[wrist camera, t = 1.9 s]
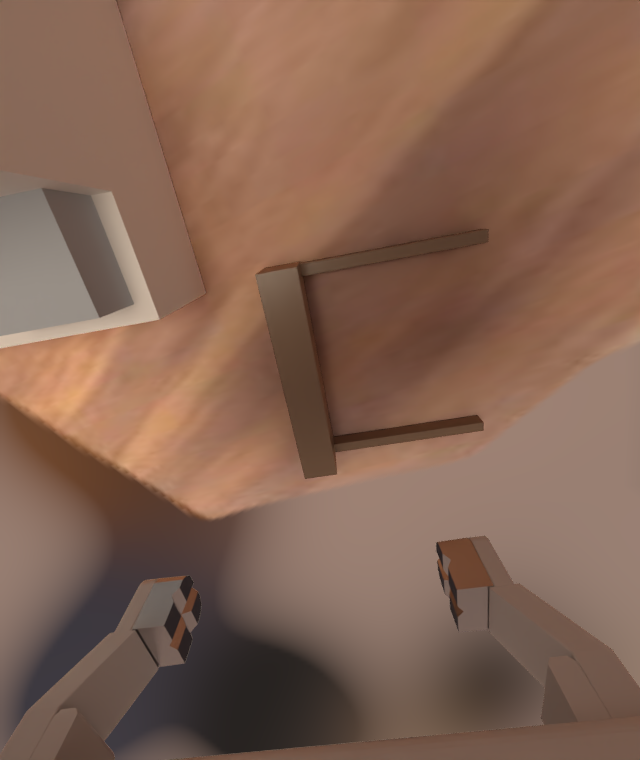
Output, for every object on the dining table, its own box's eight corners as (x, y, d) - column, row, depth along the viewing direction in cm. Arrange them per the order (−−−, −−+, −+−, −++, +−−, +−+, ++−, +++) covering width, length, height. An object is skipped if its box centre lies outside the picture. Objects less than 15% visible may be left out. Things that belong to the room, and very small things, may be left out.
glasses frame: (264, 268, 24) (255, 274, 21) (480, 227, 23) (510, 227, 20) (306, 449, 31) (305, 478, 27) (477, 424, 30) (499, 451, 26)
